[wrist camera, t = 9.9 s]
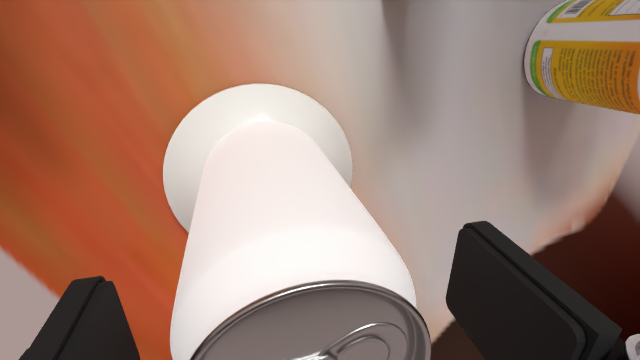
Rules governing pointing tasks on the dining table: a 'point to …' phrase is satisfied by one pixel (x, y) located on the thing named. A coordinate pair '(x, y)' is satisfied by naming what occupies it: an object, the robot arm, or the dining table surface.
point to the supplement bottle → (588, 54)
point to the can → (288, 261)
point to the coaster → (235, 111)
